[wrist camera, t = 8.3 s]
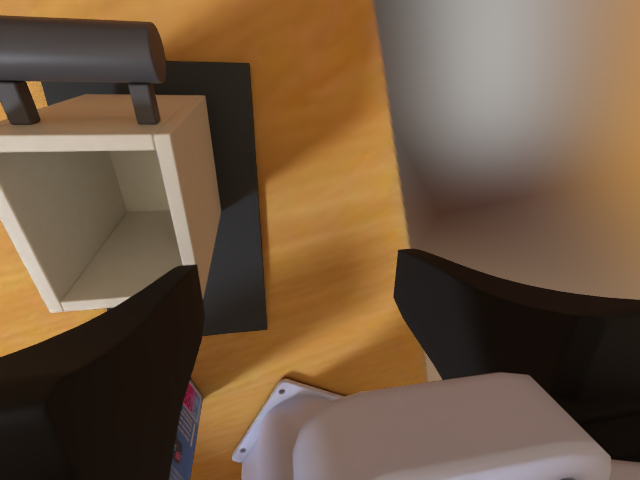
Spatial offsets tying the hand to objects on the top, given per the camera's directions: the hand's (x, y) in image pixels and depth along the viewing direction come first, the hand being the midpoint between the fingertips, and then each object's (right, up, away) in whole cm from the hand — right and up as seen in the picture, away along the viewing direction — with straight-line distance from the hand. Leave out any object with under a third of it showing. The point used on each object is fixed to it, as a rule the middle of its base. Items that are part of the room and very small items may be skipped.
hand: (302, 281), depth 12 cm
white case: (-7, +1, +4) cm, 9 cm away
